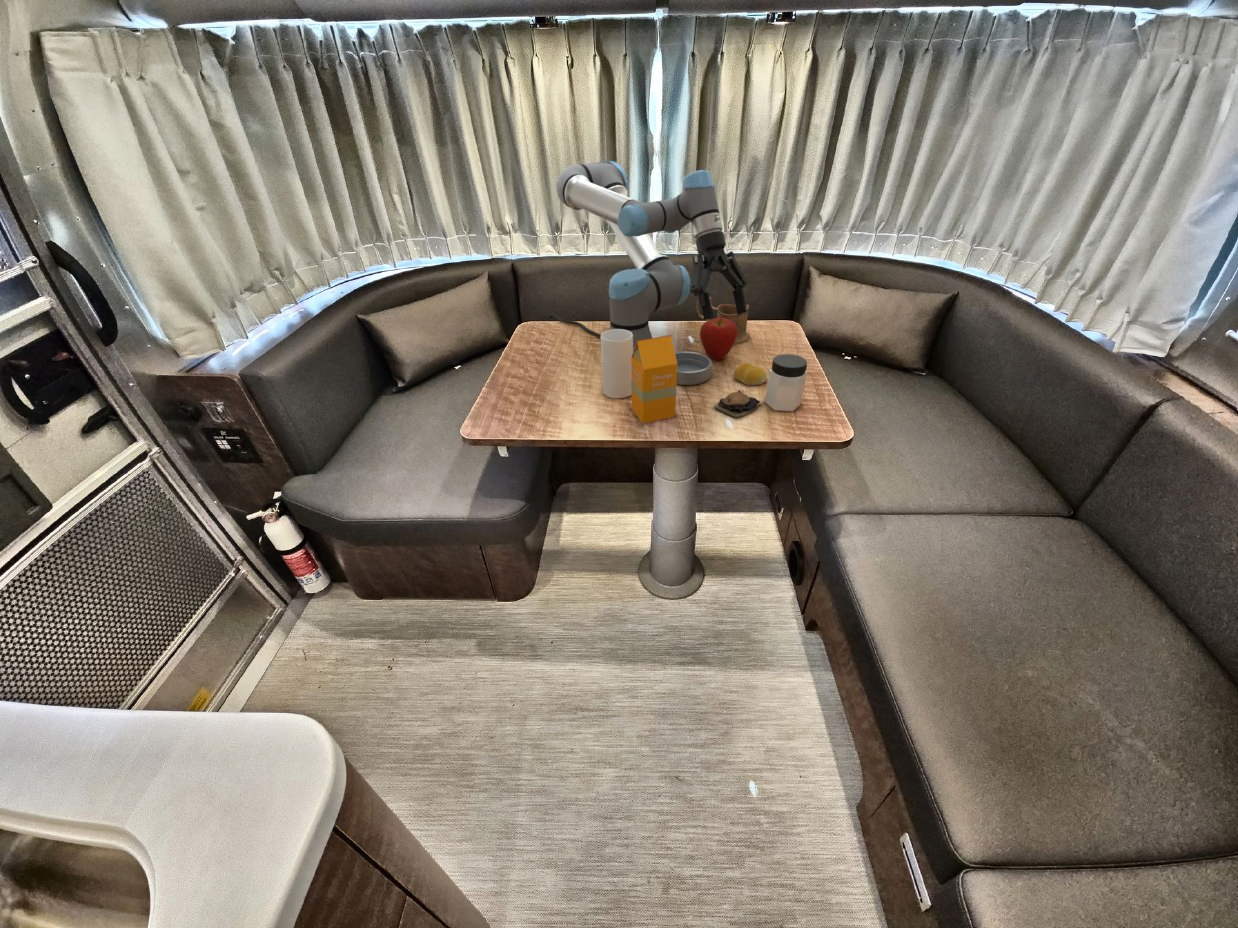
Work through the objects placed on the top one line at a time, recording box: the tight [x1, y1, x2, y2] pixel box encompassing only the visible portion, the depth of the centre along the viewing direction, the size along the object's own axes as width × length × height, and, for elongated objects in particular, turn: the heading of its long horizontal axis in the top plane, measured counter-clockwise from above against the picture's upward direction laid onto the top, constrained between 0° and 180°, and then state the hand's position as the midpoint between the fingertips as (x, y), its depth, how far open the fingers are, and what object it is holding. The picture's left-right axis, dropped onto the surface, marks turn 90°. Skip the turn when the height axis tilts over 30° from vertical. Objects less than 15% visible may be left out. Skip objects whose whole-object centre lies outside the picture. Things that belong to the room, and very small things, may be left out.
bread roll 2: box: [714, 390, 762, 419], centre depth 135 cm, size 11×8×4 cm
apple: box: [699, 317, 738, 361], centre depth 157 cm, size 11×11×12 cm
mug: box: [695, 296, 750, 345], centre depth 171 cm, size 12×18×12 cm, turn 67°
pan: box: [675, 351, 713, 386], centre depth 150 cm, size 14×14×4 cm
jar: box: [764, 353, 808, 412], centre depth 133 cm, size 9×8×12 cm
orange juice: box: [631, 334, 678, 424], centre depth 129 cm, size 8×9×20 cm
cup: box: [600, 329, 633, 399], centre depth 140 cm, size 8×8×16 cm
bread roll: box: [732, 362, 768, 386], centre depth 147 cm, size 8×9×4 cm
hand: (726, 316), depth 142 cm, fingers open, 13 cm apart
